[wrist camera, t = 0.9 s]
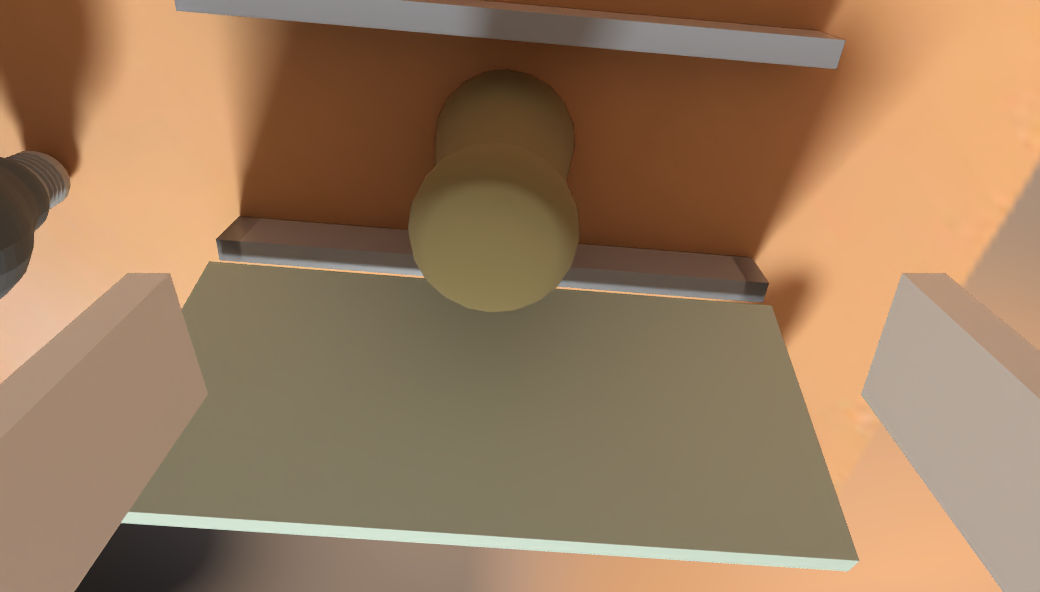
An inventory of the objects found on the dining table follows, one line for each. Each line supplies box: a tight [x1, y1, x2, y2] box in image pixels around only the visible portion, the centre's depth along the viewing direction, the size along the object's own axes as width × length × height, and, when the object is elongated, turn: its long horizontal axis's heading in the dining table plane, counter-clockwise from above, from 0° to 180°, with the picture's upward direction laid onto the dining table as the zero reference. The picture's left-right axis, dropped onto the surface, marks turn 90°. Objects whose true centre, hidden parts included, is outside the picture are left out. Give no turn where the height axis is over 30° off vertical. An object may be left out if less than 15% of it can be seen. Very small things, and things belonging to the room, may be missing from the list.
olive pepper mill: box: [408, 69, 580, 312], centre depth 23 cm, size 6×6×11 cm
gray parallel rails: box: [175, 0, 845, 303], centre depth 26 cm, size 24×11×2 cm, turn 85°
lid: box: [121, 262, 859, 571], centre depth 24 cm, size 24×11×1 cm
